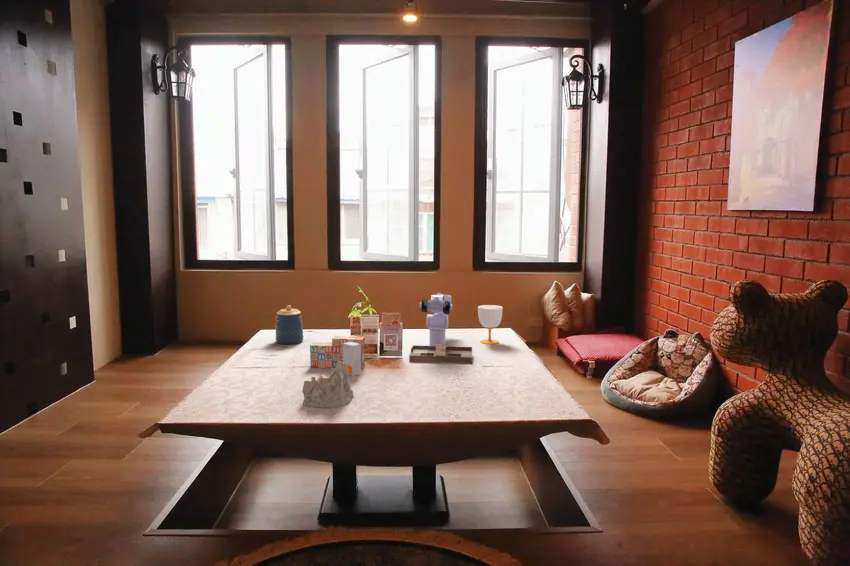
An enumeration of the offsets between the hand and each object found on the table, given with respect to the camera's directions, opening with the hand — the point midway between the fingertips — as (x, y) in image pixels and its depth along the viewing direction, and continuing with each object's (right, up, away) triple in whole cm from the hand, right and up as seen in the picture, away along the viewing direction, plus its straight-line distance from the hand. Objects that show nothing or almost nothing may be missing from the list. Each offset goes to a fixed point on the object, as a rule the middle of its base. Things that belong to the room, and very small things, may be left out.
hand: (434, 308), depth 256 cm
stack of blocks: (-40, -23, -9) cm, 47 cm away
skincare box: (-32, -25, -20) cm, 45 cm away
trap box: (+3, -21, +3) cm, 22 cm away
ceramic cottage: (-36, -29, -51) cm, 69 cm away
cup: (+27, -18, +35) cm, 47 cm away
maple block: (+3, -19, 0) cm, 20 cm away
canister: (-69, -17, +33) cm, 78 cm away
